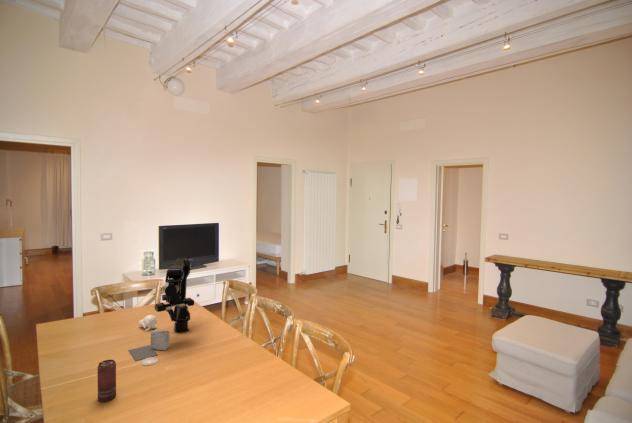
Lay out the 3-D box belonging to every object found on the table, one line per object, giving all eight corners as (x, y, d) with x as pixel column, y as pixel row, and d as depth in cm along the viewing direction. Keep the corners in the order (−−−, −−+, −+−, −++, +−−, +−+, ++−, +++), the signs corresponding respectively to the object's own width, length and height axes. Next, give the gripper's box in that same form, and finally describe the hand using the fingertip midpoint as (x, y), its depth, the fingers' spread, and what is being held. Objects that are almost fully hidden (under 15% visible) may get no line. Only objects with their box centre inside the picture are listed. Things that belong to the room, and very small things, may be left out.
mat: (149, 345, 182) (149, 344, 182) (157, 355, 172) (157, 354, 172) (128, 350, 176) (128, 350, 176) (135, 361, 165) (135, 360, 165)
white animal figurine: (148, 317, 199) (134, 315, 204) (149, 332, 199) (135, 329, 204) (157, 314, 204) (144, 312, 210) (158, 328, 204) (145, 326, 210)
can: (102, 393, 139) (102, 359, 138) (118, 393, 139) (118, 358, 138) (93, 402, 133) (93, 366, 132) (111, 402, 133) (111, 366, 132)
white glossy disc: (155, 358, 170) (155, 355, 170) (159, 363, 164) (159, 361, 164) (139, 362, 165) (139, 359, 165) (143, 368, 160) (143, 365, 160)
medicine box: (169, 347, 181) (170, 330, 181) (164, 350, 176) (165, 333, 176) (154, 345, 182) (155, 329, 181) (149, 349, 177) (150, 332, 177)
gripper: (187, 285, 195) (186, 312, 195) (151, 290, 182) (151, 320, 183) (194, 289, 186) (194, 318, 187) (157, 295, 174) (157, 326, 175)
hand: (174, 320), depth 183 cm, fingers closed
